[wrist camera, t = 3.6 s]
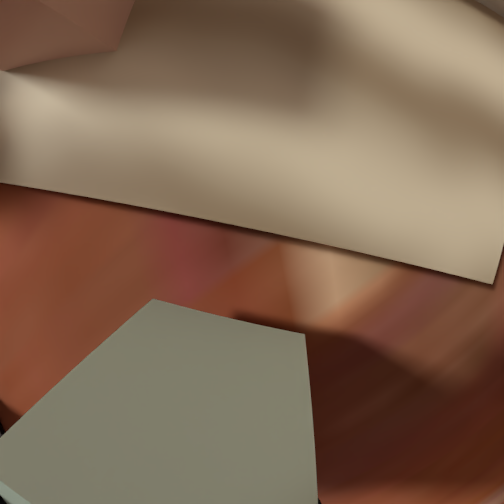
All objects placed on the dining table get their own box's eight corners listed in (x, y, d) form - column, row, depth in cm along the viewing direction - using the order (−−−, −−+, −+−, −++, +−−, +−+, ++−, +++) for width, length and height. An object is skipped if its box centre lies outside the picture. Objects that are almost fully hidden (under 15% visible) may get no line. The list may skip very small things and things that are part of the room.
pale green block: (304, 334, 9) (318, 586, 2) (255, 476, 10) (230, 624, 3) (146, 296, 9) (-32, 452, 2) (143, 447, 10) (73, 574, 4)
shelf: (476, 275, 10) (528, 305, 6) (-6, 178, 11) (-57, 181, 8) (494, 13, 7) (532, -15, 4) (59, -30, 8) (25, -54, 5)
